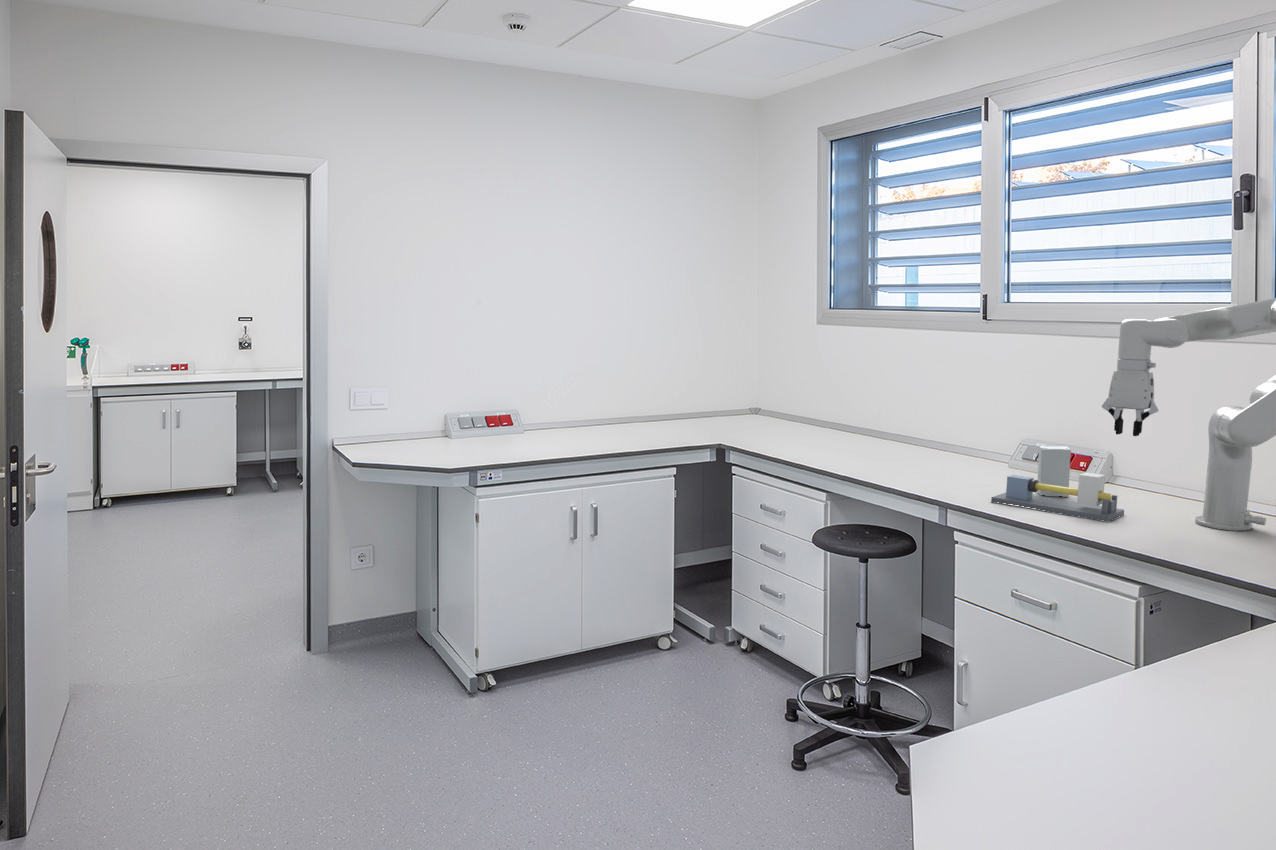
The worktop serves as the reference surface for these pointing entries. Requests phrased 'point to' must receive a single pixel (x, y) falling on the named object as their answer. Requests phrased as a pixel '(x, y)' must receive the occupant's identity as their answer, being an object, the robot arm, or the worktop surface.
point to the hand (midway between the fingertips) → (1127, 434)
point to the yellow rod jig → (1024, 487)
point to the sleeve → (1090, 488)
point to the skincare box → (1054, 467)
